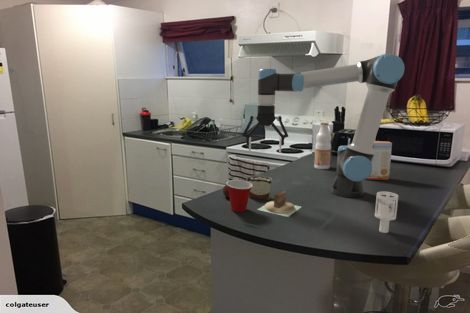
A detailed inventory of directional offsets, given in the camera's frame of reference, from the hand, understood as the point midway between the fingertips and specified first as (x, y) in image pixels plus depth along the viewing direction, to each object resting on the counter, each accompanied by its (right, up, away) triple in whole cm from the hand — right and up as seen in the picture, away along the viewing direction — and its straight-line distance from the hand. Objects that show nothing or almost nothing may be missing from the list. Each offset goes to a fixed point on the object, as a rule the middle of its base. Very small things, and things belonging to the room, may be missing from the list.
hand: (264, 152), depth 164 cm
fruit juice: (+41, -9, +62) cm, 75 cm away
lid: (+5, -23, -12) cm, 27 cm away
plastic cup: (-12, -25, -14) cm, 31 cm away
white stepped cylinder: (+40, -29, -33) cm, 59 cm away
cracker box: (+64, -14, +38) cm, 76 cm away
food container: (-2, -21, +3) cm, 21 cm away
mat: (+5, -24, -12) cm, 27 cm away
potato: (-15, -21, +3) cm, 26 cm away
